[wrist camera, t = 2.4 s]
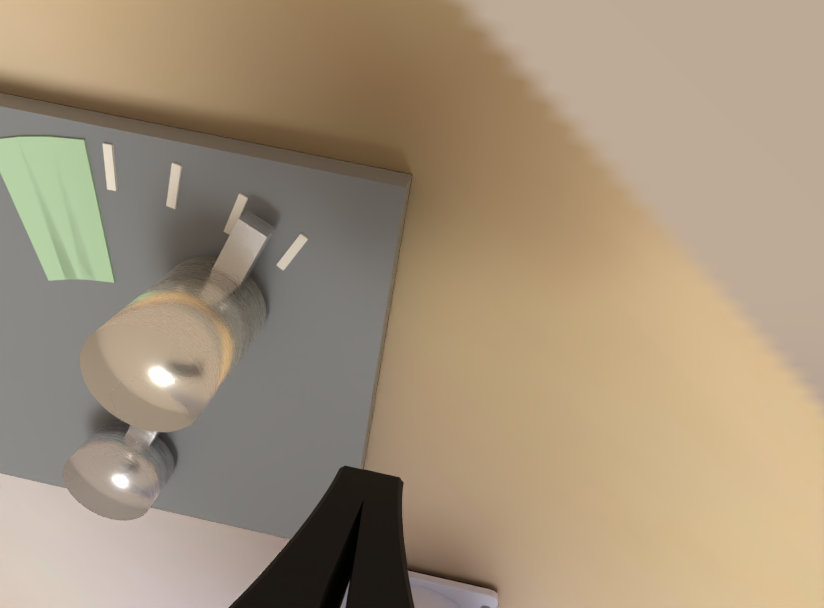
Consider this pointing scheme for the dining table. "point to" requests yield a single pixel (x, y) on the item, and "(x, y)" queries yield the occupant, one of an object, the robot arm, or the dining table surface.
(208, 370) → the lever
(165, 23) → the dining table surface
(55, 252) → the dial board
